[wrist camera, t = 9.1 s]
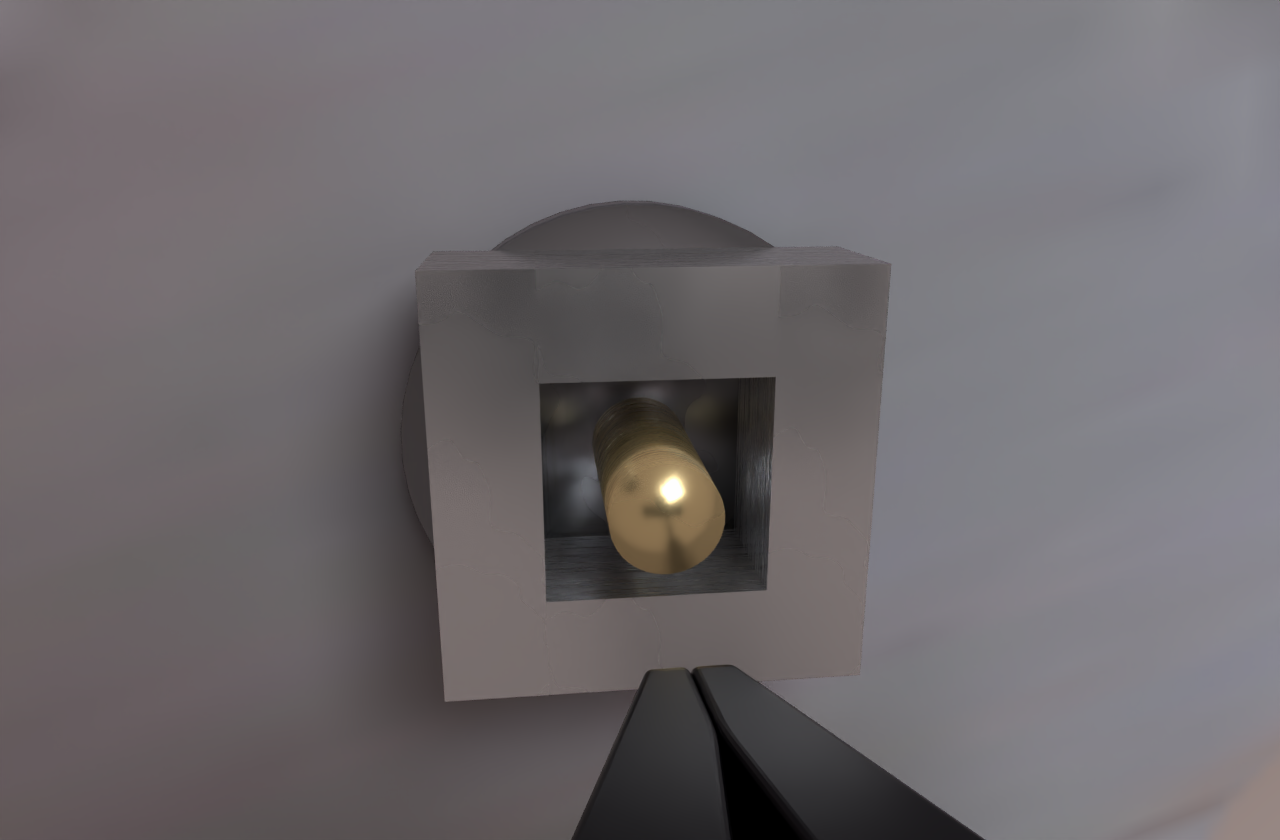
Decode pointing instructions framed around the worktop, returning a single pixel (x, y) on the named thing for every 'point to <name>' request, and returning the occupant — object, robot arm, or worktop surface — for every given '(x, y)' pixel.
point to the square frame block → (642, 351)
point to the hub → (622, 417)
